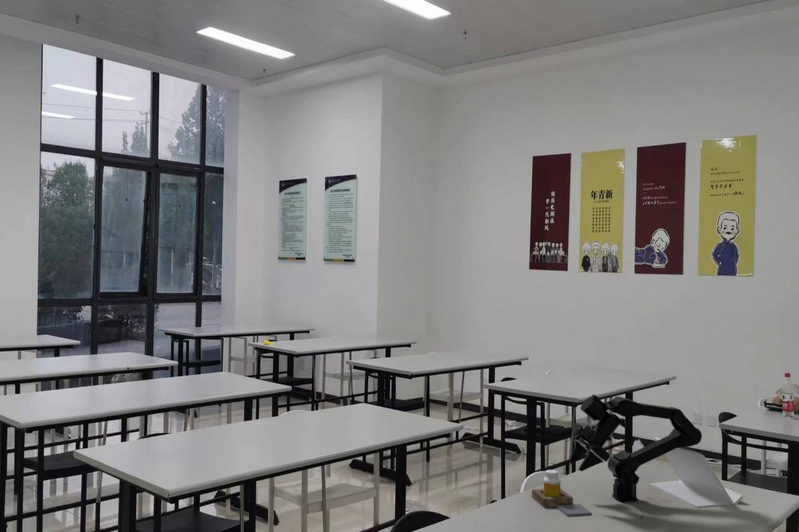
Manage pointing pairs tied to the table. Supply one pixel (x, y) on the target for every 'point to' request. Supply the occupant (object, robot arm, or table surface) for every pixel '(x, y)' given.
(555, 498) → the walnut collar
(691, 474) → the tablet stand
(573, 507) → the rubber mat
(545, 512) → the table surface
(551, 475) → the supplement bottle
